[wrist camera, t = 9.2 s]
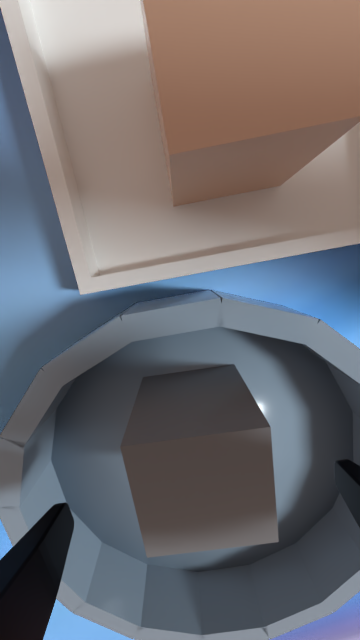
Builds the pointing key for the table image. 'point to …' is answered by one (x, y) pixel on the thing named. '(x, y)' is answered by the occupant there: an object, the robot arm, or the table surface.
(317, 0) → the matte tan cube
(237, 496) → the gray chunky prism
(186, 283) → the table surface
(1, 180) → the table surface
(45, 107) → the parts tray
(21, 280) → the table surface
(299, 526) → the bowl
